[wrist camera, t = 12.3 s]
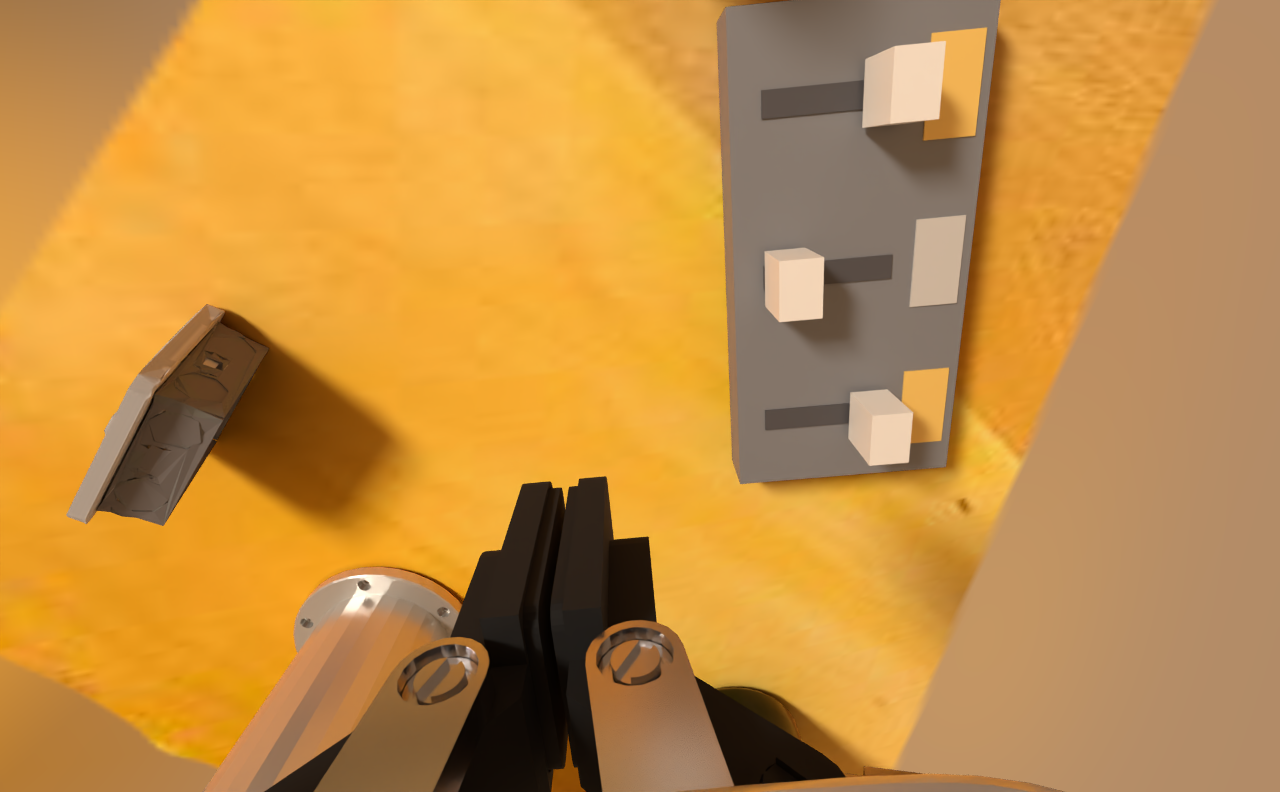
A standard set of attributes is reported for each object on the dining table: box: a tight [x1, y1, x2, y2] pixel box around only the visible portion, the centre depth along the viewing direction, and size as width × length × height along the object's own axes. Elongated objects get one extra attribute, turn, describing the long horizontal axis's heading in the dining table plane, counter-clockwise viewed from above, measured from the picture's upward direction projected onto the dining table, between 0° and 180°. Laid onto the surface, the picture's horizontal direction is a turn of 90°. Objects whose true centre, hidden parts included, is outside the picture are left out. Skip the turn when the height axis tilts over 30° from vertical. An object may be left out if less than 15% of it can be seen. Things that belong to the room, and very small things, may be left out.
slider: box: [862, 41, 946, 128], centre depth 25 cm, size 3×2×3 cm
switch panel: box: [717, 0, 1000, 484], centre depth 31 cm, size 24×12×3 cm, turn 5°
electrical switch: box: [67, 304, 270, 526], centre depth 31 cm, size 9×5×9 cm, turn 142°
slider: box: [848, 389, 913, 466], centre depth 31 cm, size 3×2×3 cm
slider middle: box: [765, 248, 824, 322], centre depth 28 cm, size 3×2×3 cm
